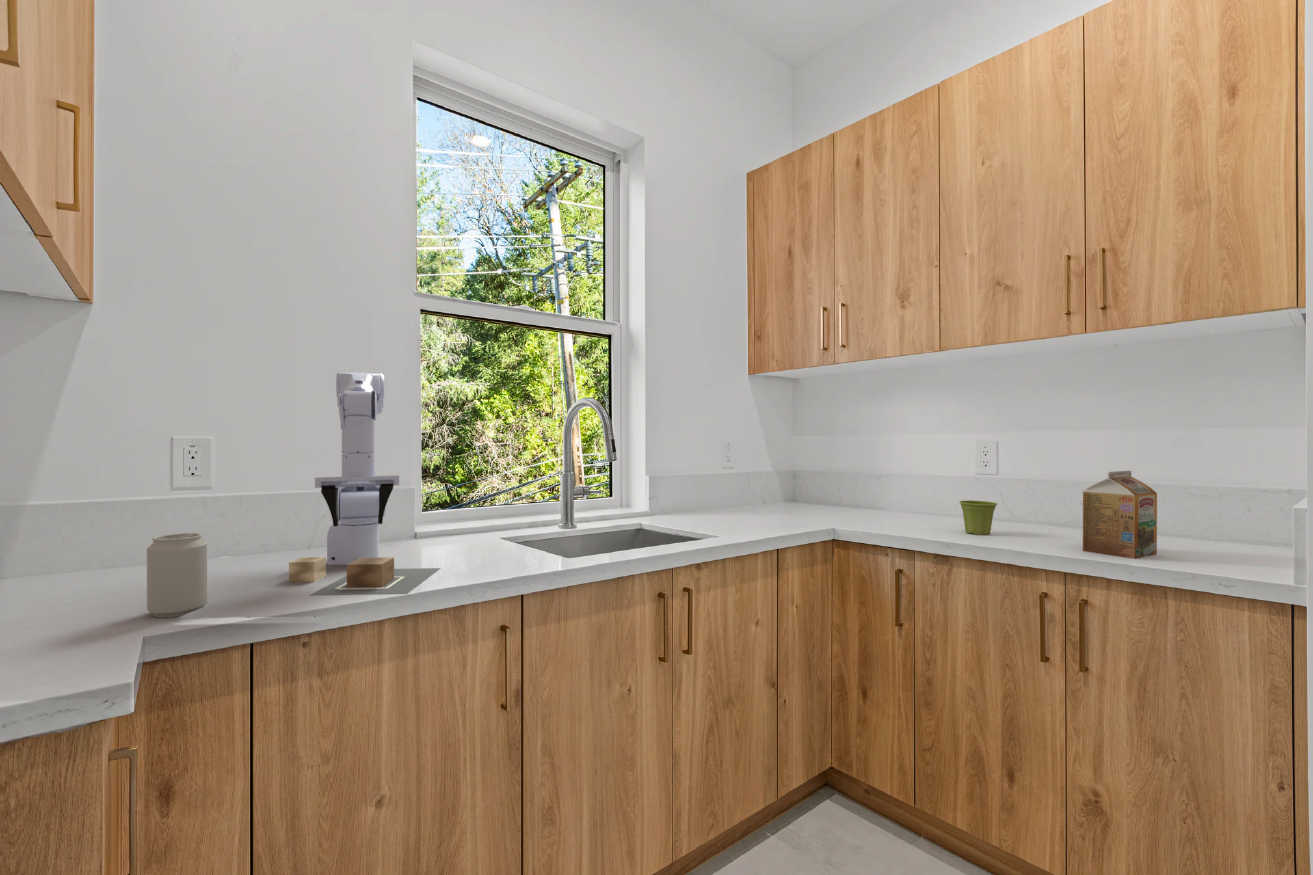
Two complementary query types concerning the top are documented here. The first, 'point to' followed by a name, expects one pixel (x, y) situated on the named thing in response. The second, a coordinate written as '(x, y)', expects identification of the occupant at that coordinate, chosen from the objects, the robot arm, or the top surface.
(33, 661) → the top surface
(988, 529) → the plant pot
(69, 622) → the top surface
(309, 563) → the maple cube
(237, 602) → the top surface
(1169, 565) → the top surface
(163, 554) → the can
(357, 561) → the walnut block
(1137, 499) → the milk carton
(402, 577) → the gray mat
